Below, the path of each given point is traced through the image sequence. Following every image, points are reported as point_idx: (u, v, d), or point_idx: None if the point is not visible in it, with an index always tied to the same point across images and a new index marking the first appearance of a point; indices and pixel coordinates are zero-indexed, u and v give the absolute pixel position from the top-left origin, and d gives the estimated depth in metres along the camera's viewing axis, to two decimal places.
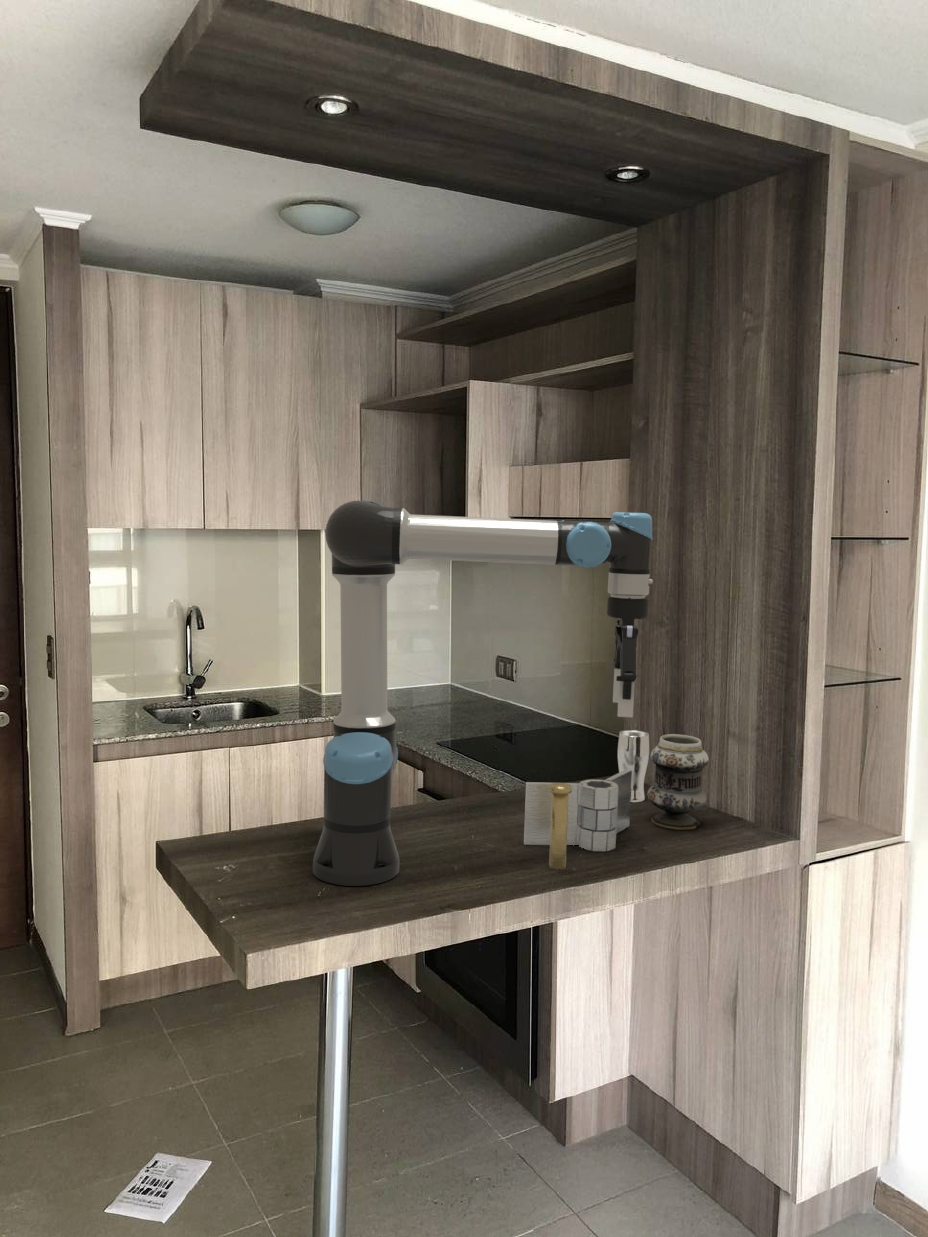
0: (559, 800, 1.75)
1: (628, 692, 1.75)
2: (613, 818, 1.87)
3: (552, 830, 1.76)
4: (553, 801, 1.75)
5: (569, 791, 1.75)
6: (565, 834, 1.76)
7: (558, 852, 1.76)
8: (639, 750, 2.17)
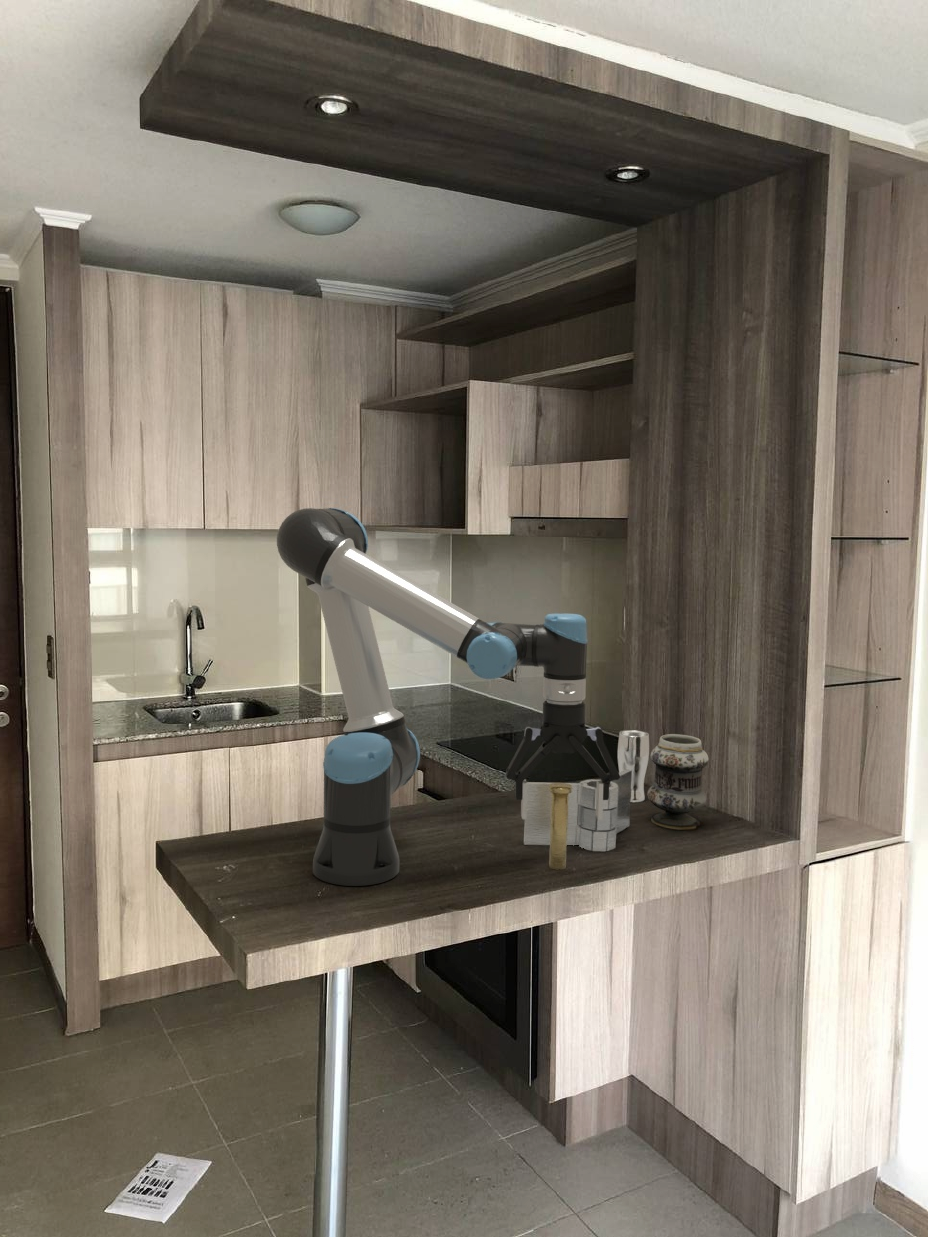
0: (559, 800, 1.75)
1: (515, 791, 1.76)
2: (613, 818, 1.87)
3: (552, 830, 1.76)
4: (553, 801, 1.75)
5: (569, 791, 1.75)
6: (565, 834, 1.76)
7: (558, 852, 1.76)
8: (639, 750, 2.17)
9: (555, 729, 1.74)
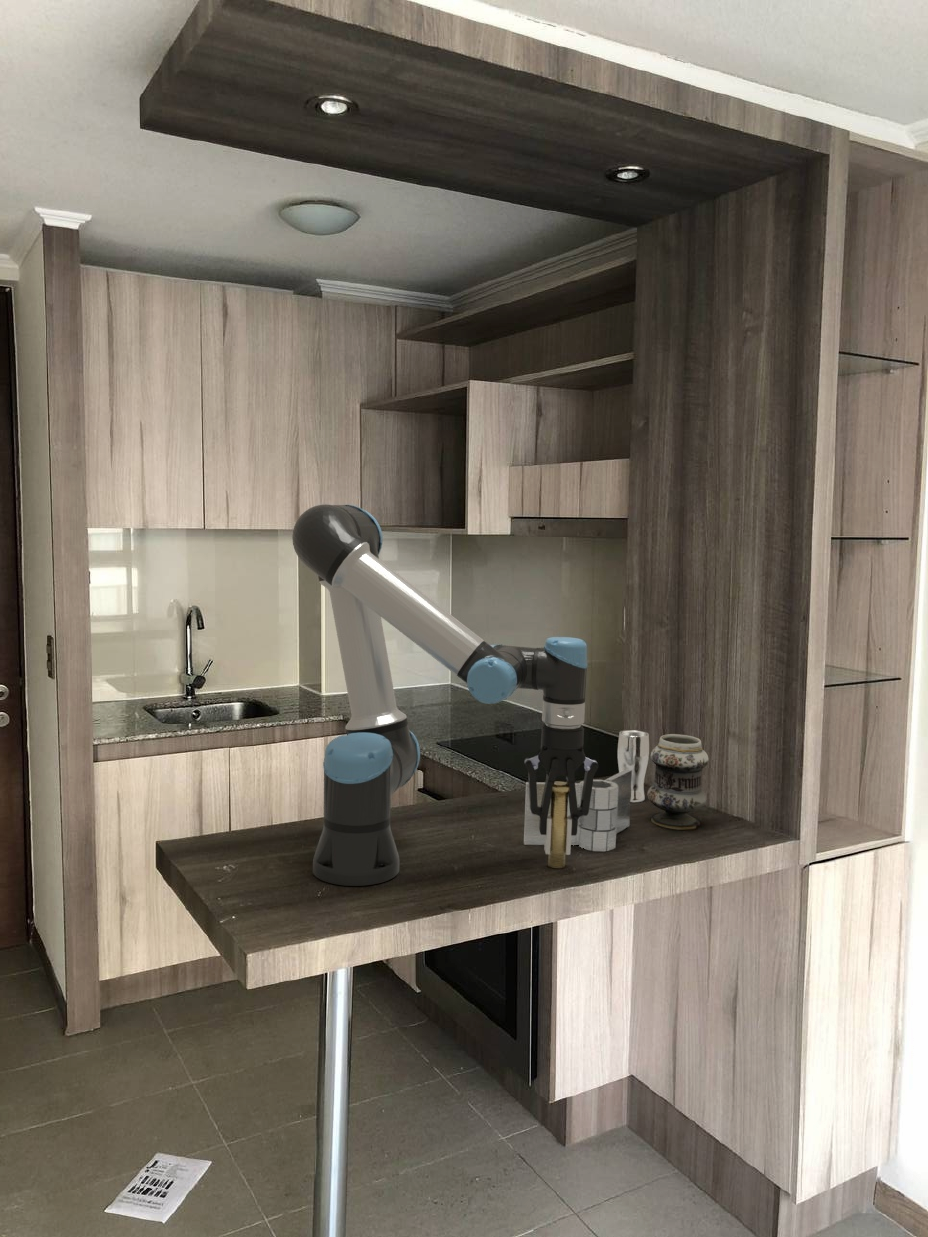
0: (558, 799, 1.75)
1: (540, 826, 1.76)
2: (613, 818, 1.87)
3: (551, 829, 1.76)
4: (553, 800, 1.75)
5: (569, 790, 1.75)
6: (564, 833, 1.76)
7: (557, 851, 1.76)
8: (639, 750, 2.17)
9: (550, 749, 1.74)
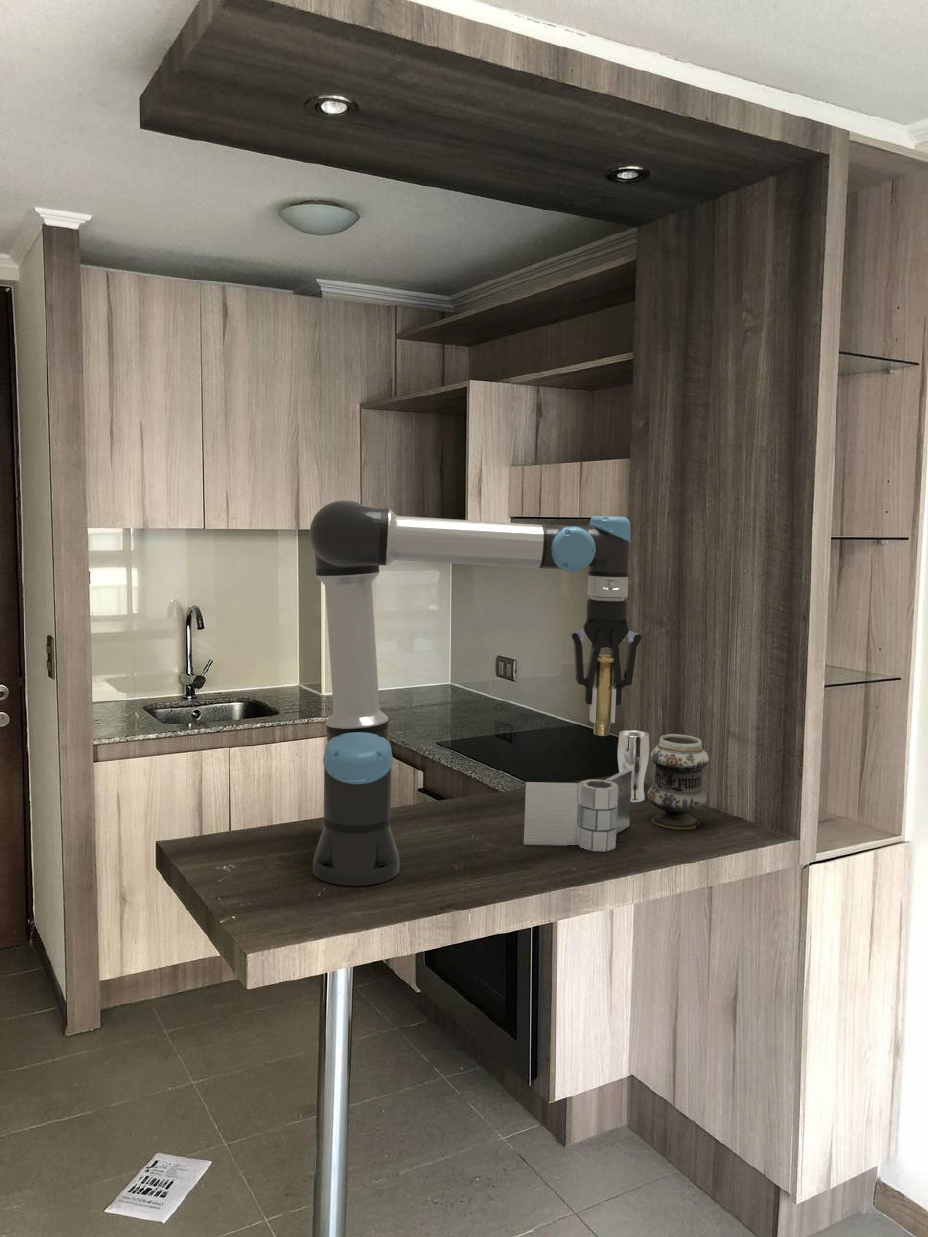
0: (603, 669, 1.85)
1: (585, 696, 1.86)
2: (613, 818, 1.87)
3: (597, 698, 1.86)
4: (598, 670, 1.85)
5: (613, 660, 1.85)
6: (609, 702, 1.86)
7: (603, 719, 1.86)
8: (639, 750, 2.17)
9: (595, 621, 1.84)
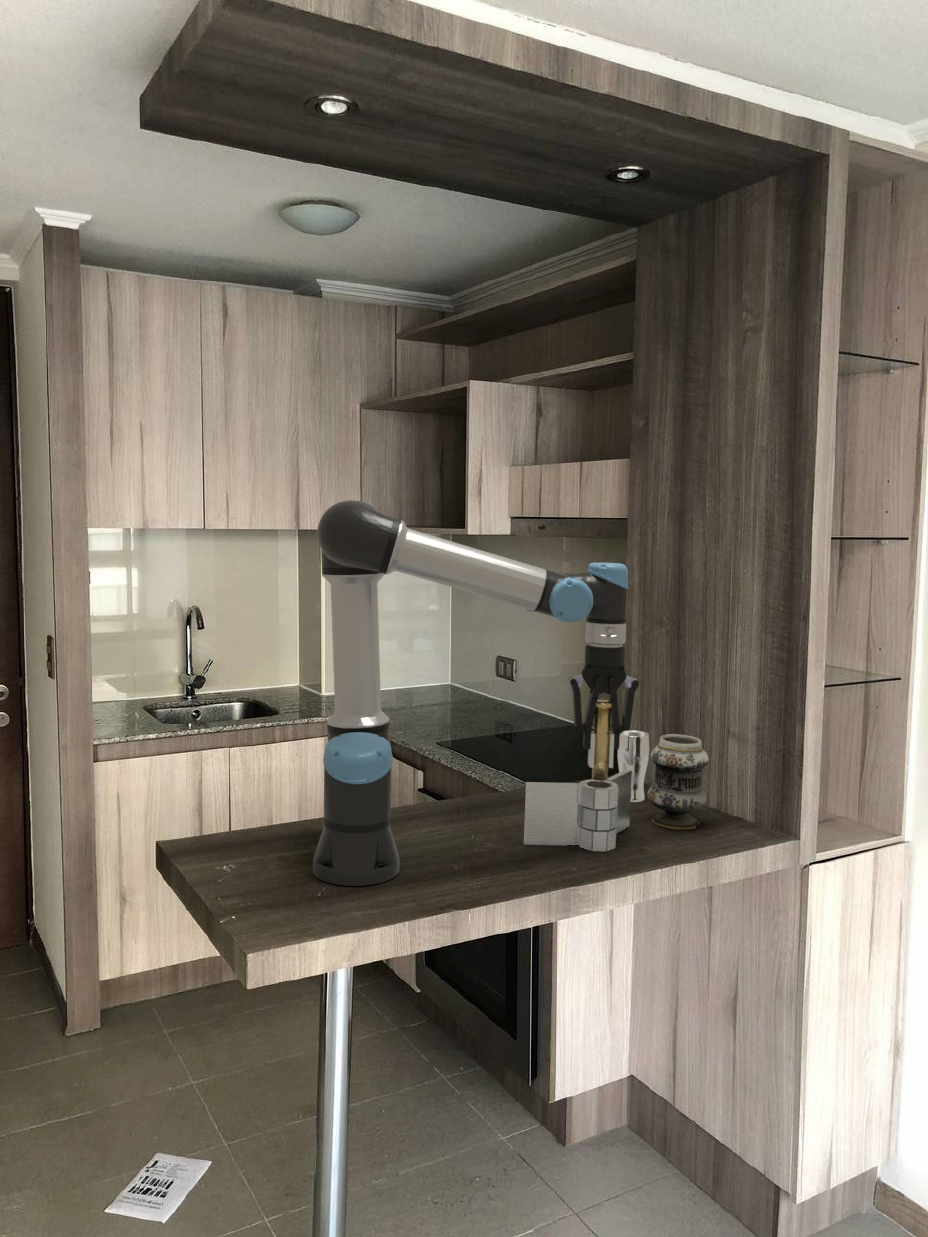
0: (601, 715, 1.86)
1: (584, 741, 1.87)
2: (613, 818, 1.87)
3: (595, 743, 1.87)
4: (596, 716, 1.86)
5: (611, 706, 1.86)
6: (607, 747, 1.87)
7: (601, 764, 1.87)
8: (639, 750, 2.17)
9: (593, 667, 1.85)
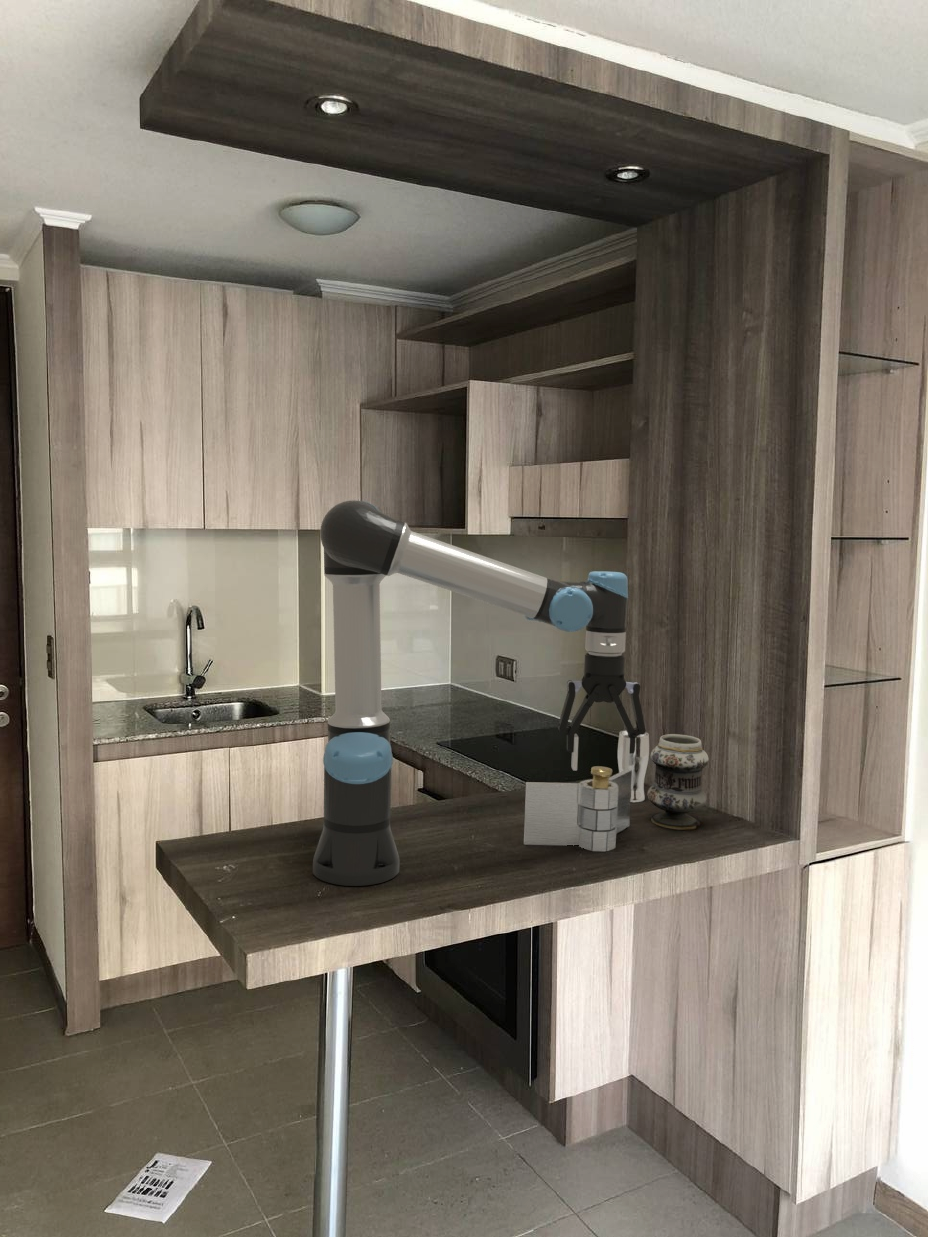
0: (600, 782, 1.87)
1: (567, 744, 1.87)
2: (613, 818, 1.87)
3: None
4: (595, 783, 1.88)
5: (610, 774, 1.87)
6: None
7: None
8: (639, 750, 2.17)
9: (595, 678, 1.85)
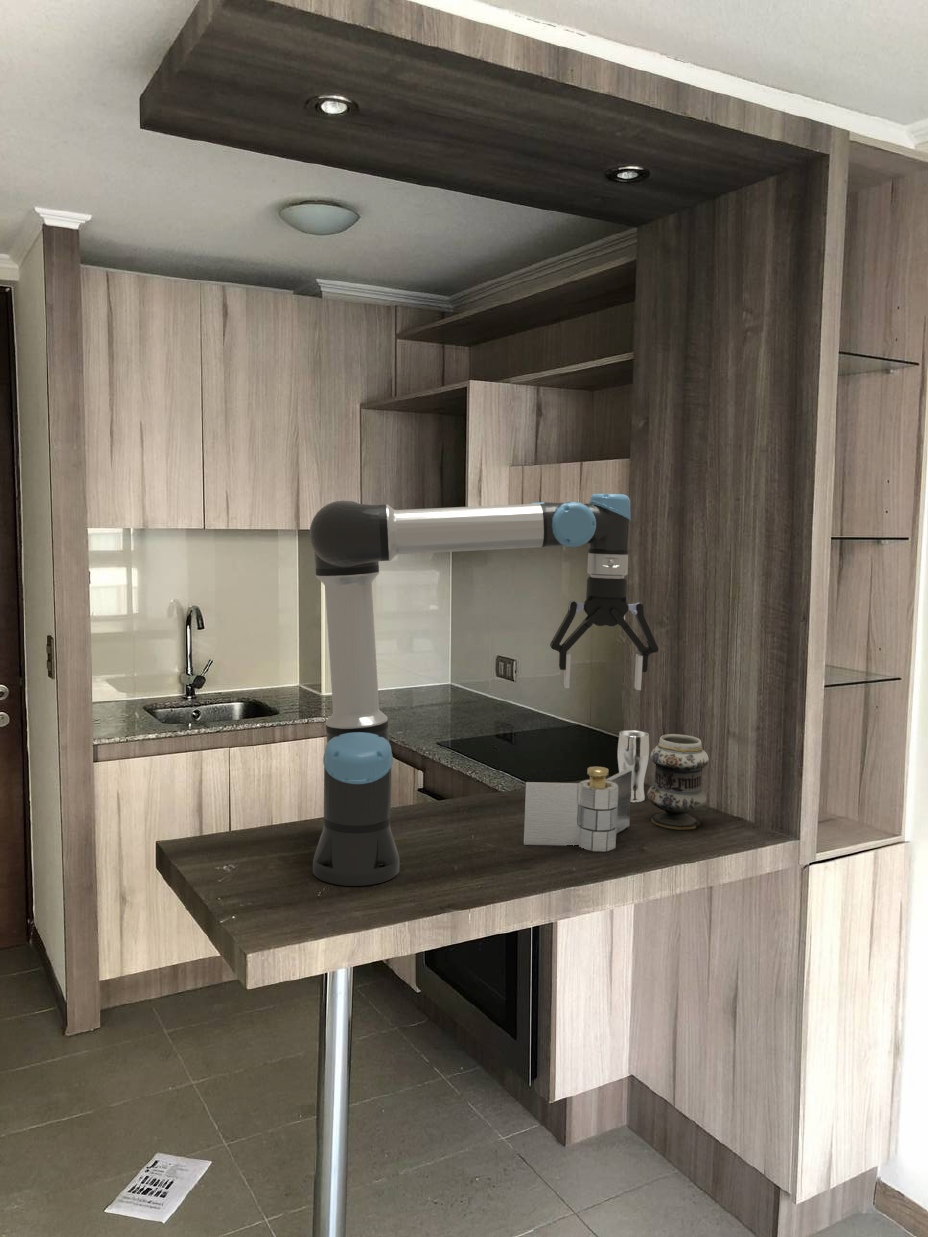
0: (597, 783, 1.87)
1: (559, 662, 1.86)
2: (613, 818, 1.87)
3: None
4: (592, 784, 1.88)
5: (606, 774, 1.87)
6: None
7: None
8: (639, 750, 2.17)
9: (598, 603, 1.84)
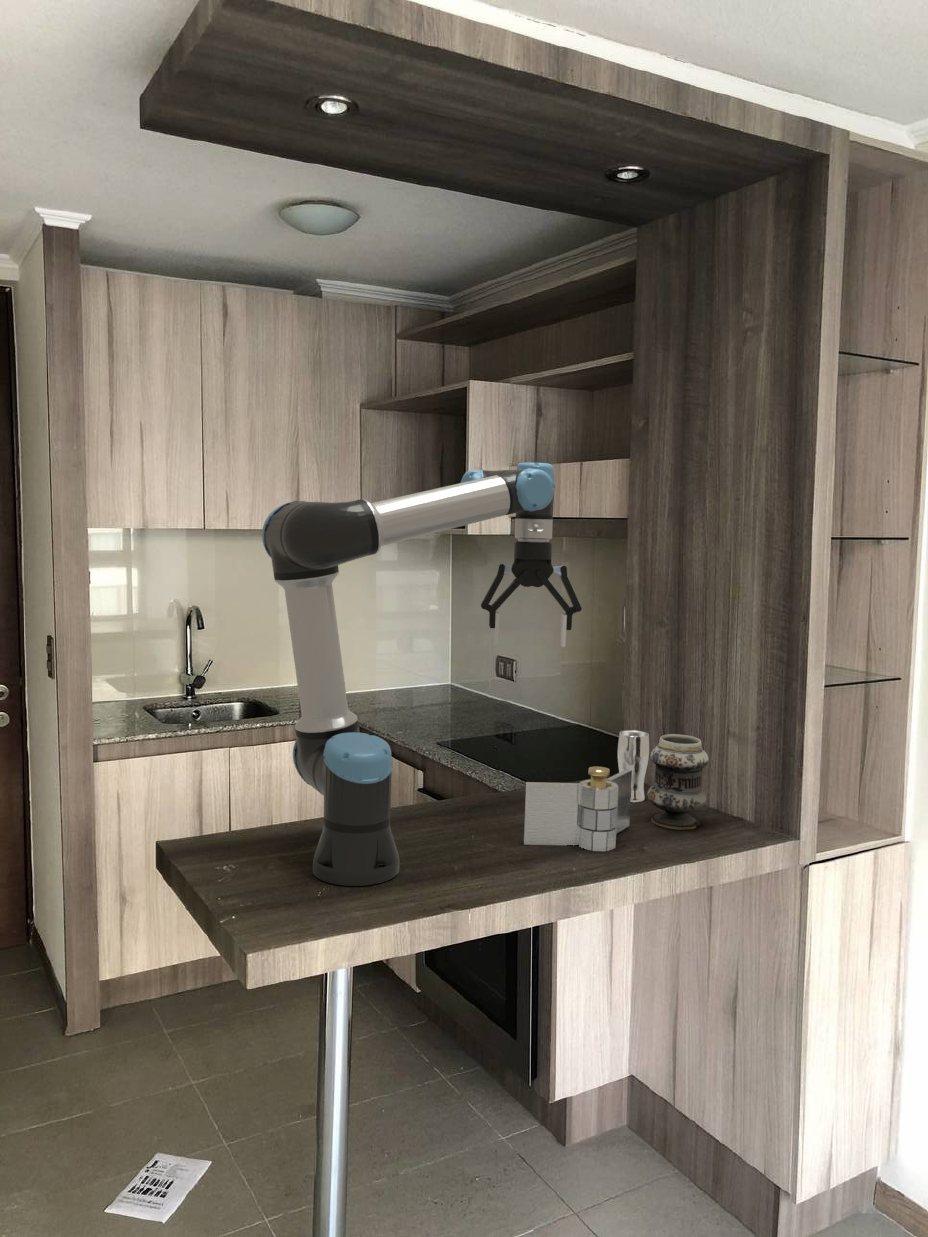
0: (598, 782, 1.87)
1: None
2: (613, 818, 1.87)
3: None
4: (592, 783, 1.88)
5: (607, 774, 1.87)
6: None
7: None
8: (639, 750, 2.17)
9: (525, 565, 1.96)
